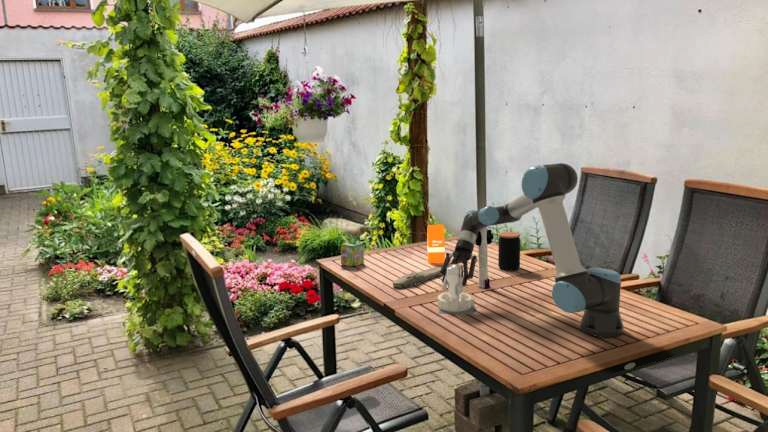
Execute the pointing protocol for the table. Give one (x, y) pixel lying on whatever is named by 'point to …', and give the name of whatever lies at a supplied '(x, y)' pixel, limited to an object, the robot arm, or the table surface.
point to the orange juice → (436, 244)
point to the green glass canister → (352, 253)
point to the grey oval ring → (470, 311)
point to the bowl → (454, 303)
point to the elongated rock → (417, 277)
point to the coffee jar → (509, 251)
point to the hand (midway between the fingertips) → (451, 290)
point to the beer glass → (454, 281)
